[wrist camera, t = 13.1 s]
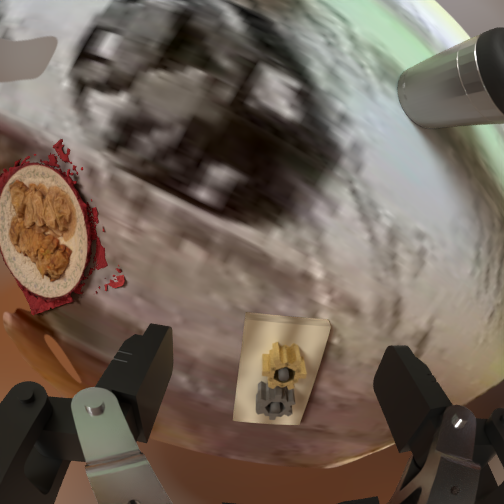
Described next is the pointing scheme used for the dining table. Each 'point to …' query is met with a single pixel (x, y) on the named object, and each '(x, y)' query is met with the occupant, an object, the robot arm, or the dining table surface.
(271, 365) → the brass gear
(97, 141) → the dining table surface
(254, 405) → the gear board
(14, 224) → the plate with food
